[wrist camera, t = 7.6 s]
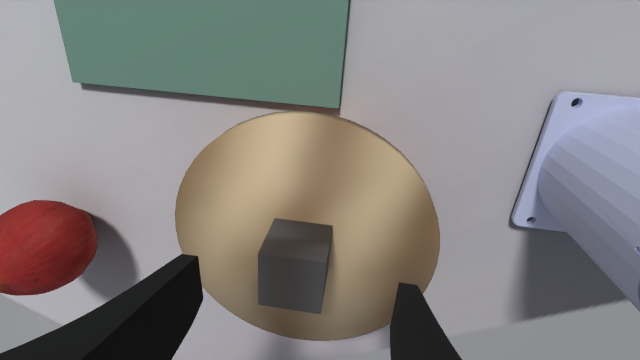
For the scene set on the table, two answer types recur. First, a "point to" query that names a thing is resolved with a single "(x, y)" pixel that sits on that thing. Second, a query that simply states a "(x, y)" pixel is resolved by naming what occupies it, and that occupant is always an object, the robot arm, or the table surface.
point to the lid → (307, 225)
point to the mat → (210, 47)
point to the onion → (44, 246)
